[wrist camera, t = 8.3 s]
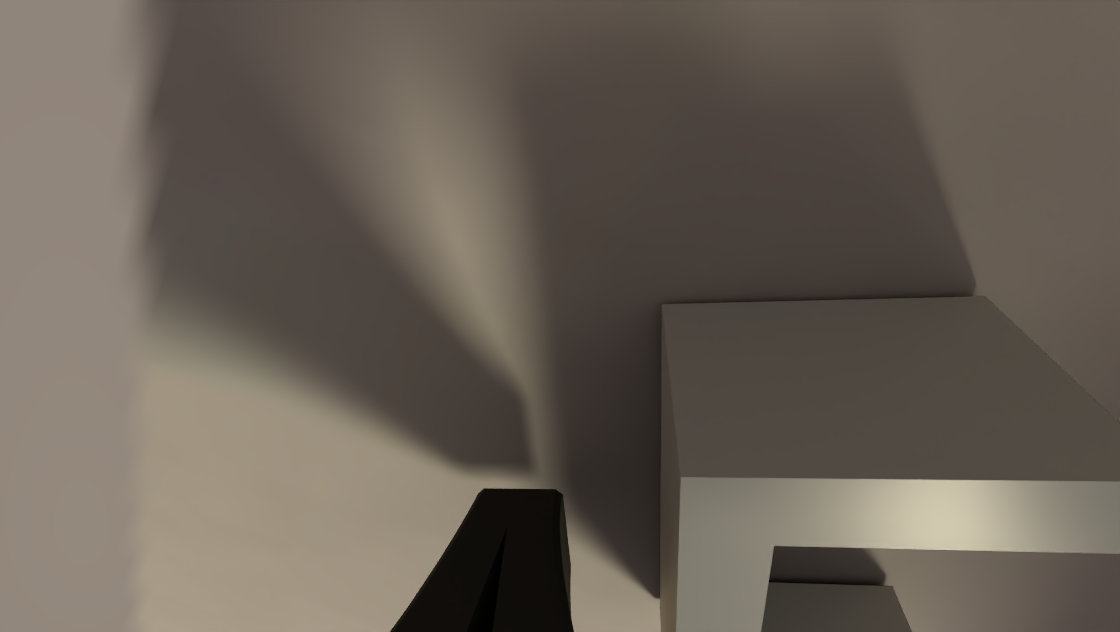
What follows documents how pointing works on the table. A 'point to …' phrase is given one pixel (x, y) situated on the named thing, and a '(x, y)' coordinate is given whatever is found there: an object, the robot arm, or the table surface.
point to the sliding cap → (863, 452)
